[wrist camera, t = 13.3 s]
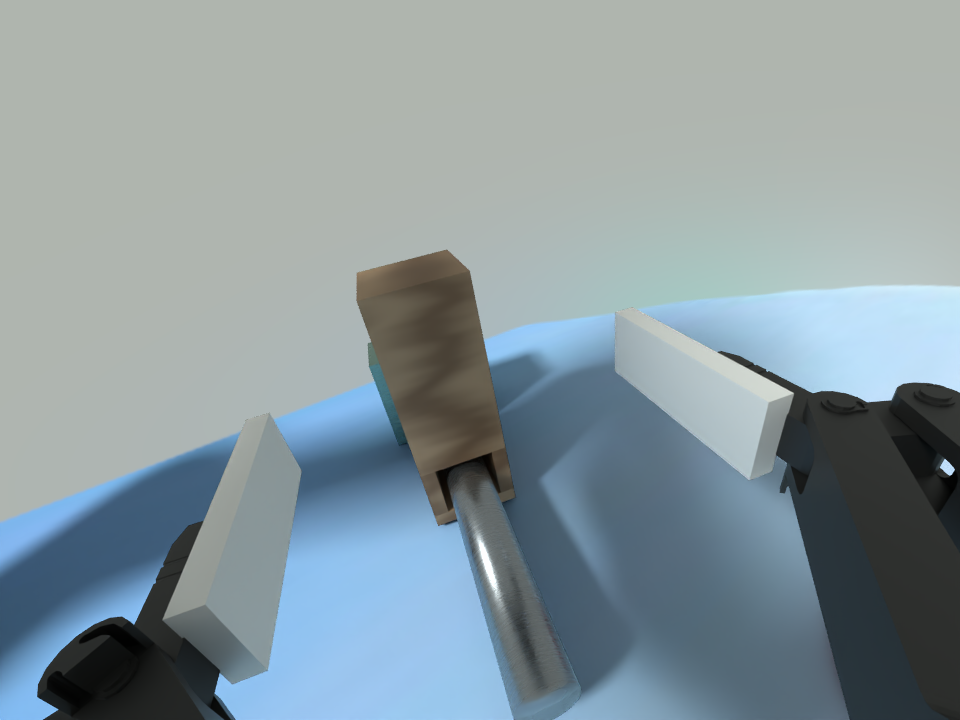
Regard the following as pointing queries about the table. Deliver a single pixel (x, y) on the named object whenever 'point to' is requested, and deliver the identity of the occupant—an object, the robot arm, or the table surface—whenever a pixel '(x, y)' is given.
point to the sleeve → (436, 369)
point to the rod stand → (503, 588)
